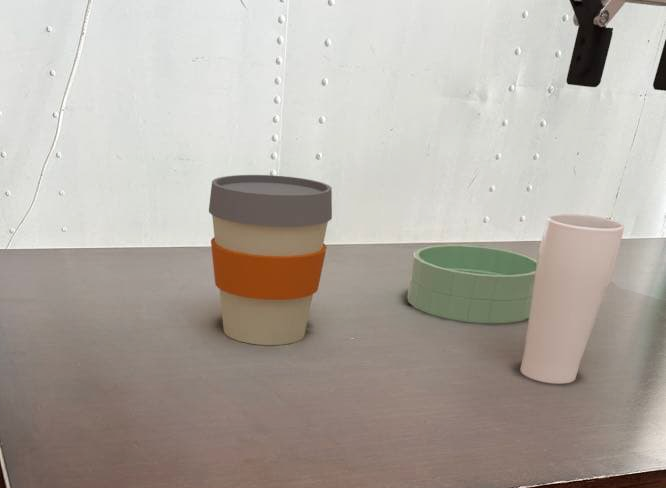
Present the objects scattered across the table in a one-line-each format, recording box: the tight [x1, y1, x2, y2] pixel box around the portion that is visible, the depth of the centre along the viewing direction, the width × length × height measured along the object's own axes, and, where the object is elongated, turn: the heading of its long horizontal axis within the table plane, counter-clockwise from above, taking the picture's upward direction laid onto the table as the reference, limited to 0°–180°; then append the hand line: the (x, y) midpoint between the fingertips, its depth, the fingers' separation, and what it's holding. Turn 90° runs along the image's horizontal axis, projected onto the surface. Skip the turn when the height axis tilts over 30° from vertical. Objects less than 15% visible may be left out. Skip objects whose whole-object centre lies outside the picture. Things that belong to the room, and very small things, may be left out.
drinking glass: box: [519, 213, 625, 385], centre depth 77 cm, size 7×7×15 cm
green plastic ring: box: [407, 244, 537, 324], centre depth 99 cm, size 15×15×6 cm
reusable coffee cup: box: [208, 174, 333, 346], centre depth 86 cm, size 13×13×15 cm
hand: (626, 88), depth 67 cm, fingers open, 9 cm apart
